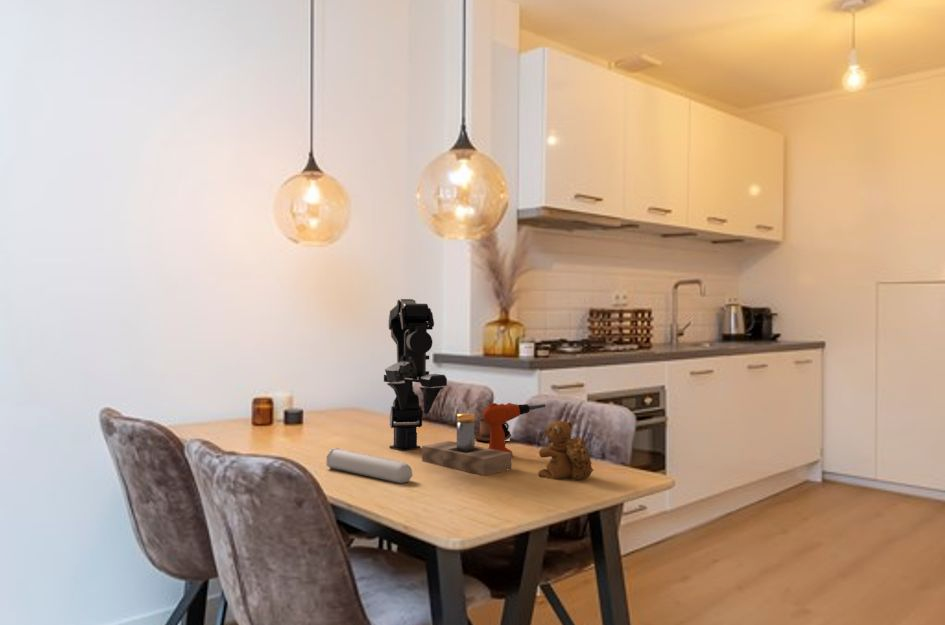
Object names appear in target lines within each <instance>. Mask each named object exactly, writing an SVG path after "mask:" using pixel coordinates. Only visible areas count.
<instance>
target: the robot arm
mask: <svg viewBox="0 0 945 625" xmlns="http://www.w3.org/2000/svg"><path fill="white" fill-rule="evenodd" d="M434 326H435V321H434V315H433V312H432V308H430V307H429V305H428V304H427V303H417V301H416V300H414V299H413V298H412V299H411V298H399V299H397V300H396V305H395V306H394V307H393V308H392V309H390V310H389V315H388V330H390V337H391V338H392V340H393V342H394V343H395V345H396V363H394V364H392V365H390V366H388V367H386V368H385V369H384V371H385V373H384V374H383V382H385V383H386V385H387V386H389V387H390V388H391V389H392V390H393V391H394V394H395V398H394V400H393V401H392V406H391V407H390V413H389V426H390V428H391V429H393V445H389V447H388V448H390V449H394V450H398V451H403V452H405V451H410V450H415V449H420V448H421V445H419V444H418V432H417V428H421V427H422V426H423V417H424V414H426V415H427V414H429V412H430V411H431V408H432V406H433V404H434V402H435V400H436V399H437V396H438V395H439V393H440V392H441V390H443V389H444V387H447V386H448V378H447V376H446V375H445V374H437V373H431V374H430V371H429V370H427V360H430V355H428V354H427V353H428V352H429V351H430V350H431V349H432V347H433V338H432V336H431V334H430V333H428V330H430V331H431V330H433V328H434ZM414 383H419V384H420V385H421V387H419V389H420V391H421V392H422V394H423V396H422V398H423V409H422V405H420V399H419V398H420V397H419V395H418V394H416V392H415V391H414V388H413V387H414V386H413V385H414Z"/></svg>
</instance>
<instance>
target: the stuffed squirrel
mask: <svg viewBox="0 0 945 625" xmlns="http://www.w3.org/2000/svg"><path fill="white" fill-rule="evenodd" d="M573 425H574V423H573V421H570V420H569V421H567V422H566V421H565V420H556V421H554V422H551V423H550V424H549V425H548V426H547V427H546V428H545V429H546V430H545V431H544V433H543V436H542V438H543V439H544V440H545V439H546V437H547V438H548V440H550V441H551V442H548V444H547V447H541V448H540V449H539V452H538V453H539V457H540V458H549V457H550V458H551V459H550V460H549V461H548V463H547V464H546V466H545V468H542V469H540V470H539V471H538V474H537V475H538V477H540V476H542V477H541V478H545V477H548V478H547V479H550V478H553V479H552V480H565V479H564V478H567V479H570V480H573V479H575V480H574V481H580V480H585V479H587V478H589V477H591V474H592V473H593V471H594V469H593V466H592V465H593V464H592V460H591V458H590V455H589V454H590V452H589V450H588V449H587V447H586V444H585V442H584V440H583V438H581V437H573V438H571V437H572V436H571V429H572V427H573Z"/></svg>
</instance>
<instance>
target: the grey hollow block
mask: <svg viewBox="0 0 945 625" xmlns="http://www.w3.org/2000/svg"><path fill="white" fill-rule="evenodd" d="M421 447H422V448H421V462H424V463H428V464H432V465H437V466H440V467H441V466H442V467H445V468H449V469H454V470H459V471H462V472H466V471H467V473H471V474H474V475H475V474H476V475H478V476H479V475H480V476H484V475H485V476H488V474H489V475H493V474H497V473H500V472H499V471H501V472H504V471H503V470H505V471H508V470H507V469H510V470H512V458H513V454H512V453H513V452H512V453H509V452H504V451H499V450H493V449H488V448H489V447H484V446H483V447H482V446H478V445H477V446H476V445H475V451H474V452H469V453H463V452H458V451H457V441H451V440H447V441H441V442H436V443H431V444H425V445H422V446H421ZM496 472H497V473H496ZM492 473H493V474H492Z"/></svg>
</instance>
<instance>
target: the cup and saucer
mask: <svg viewBox="0 0 945 625" xmlns="http://www.w3.org/2000/svg"><path fill="white" fill-rule="evenodd" d="M503 424H505V425H506V427H507V429H508V430H509V428H510V425H509V423H508V421H507V422H505V423H503ZM511 437H512V434H511V433H510V434H509V435H508V436H507V437H506V438H505V441H507V440H508V439H511ZM475 440H478V441H481V442H486V443H488V442H489V443H490V427H489V425H488V424H487V423H486V422H485V421H484V419H483V418H482V419H479V431H475Z"/></svg>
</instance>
